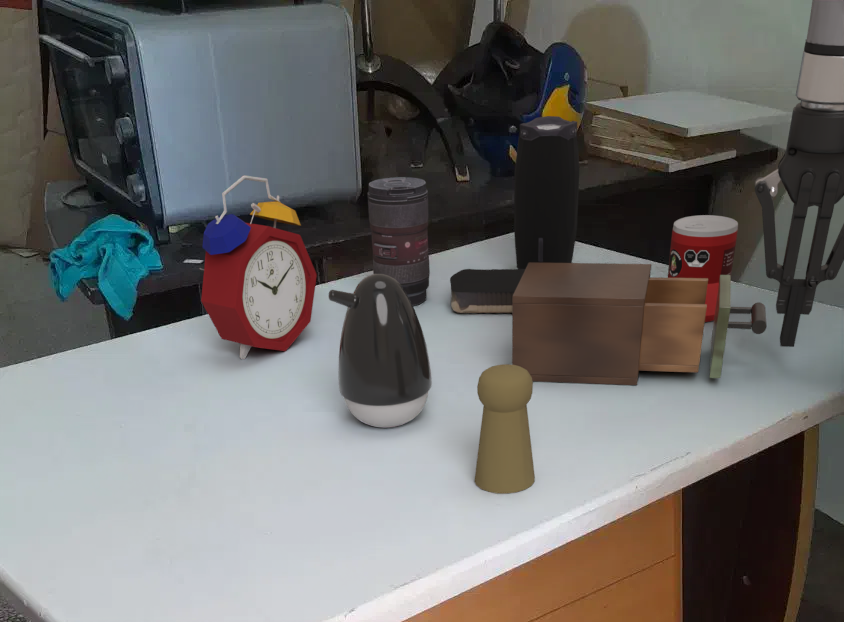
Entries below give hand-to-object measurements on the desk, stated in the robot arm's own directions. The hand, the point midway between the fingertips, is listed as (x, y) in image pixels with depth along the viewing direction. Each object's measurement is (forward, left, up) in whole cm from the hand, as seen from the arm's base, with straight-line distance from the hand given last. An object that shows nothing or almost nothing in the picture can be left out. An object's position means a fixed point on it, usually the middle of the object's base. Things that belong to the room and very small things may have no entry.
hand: (786, 342), depth 116 cm
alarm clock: (+62, +20, -3) cm, 65 cm away
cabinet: (+22, +8, -3) cm, 24 cm away
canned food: (+16, -14, -3) cm, 21 cm away
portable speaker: (+42, -21, -3) cm, 47 cm away
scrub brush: (+40, -7, -3) cm, 41 cm away
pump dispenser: (+34, +32, -3) cm, 47 cm away
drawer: (+11, +4, -2) cm, 12 cm away
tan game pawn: (+15, +39, -3) cm, 42 cm away
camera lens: (+55, -3, -3) cm, 55 cm away
